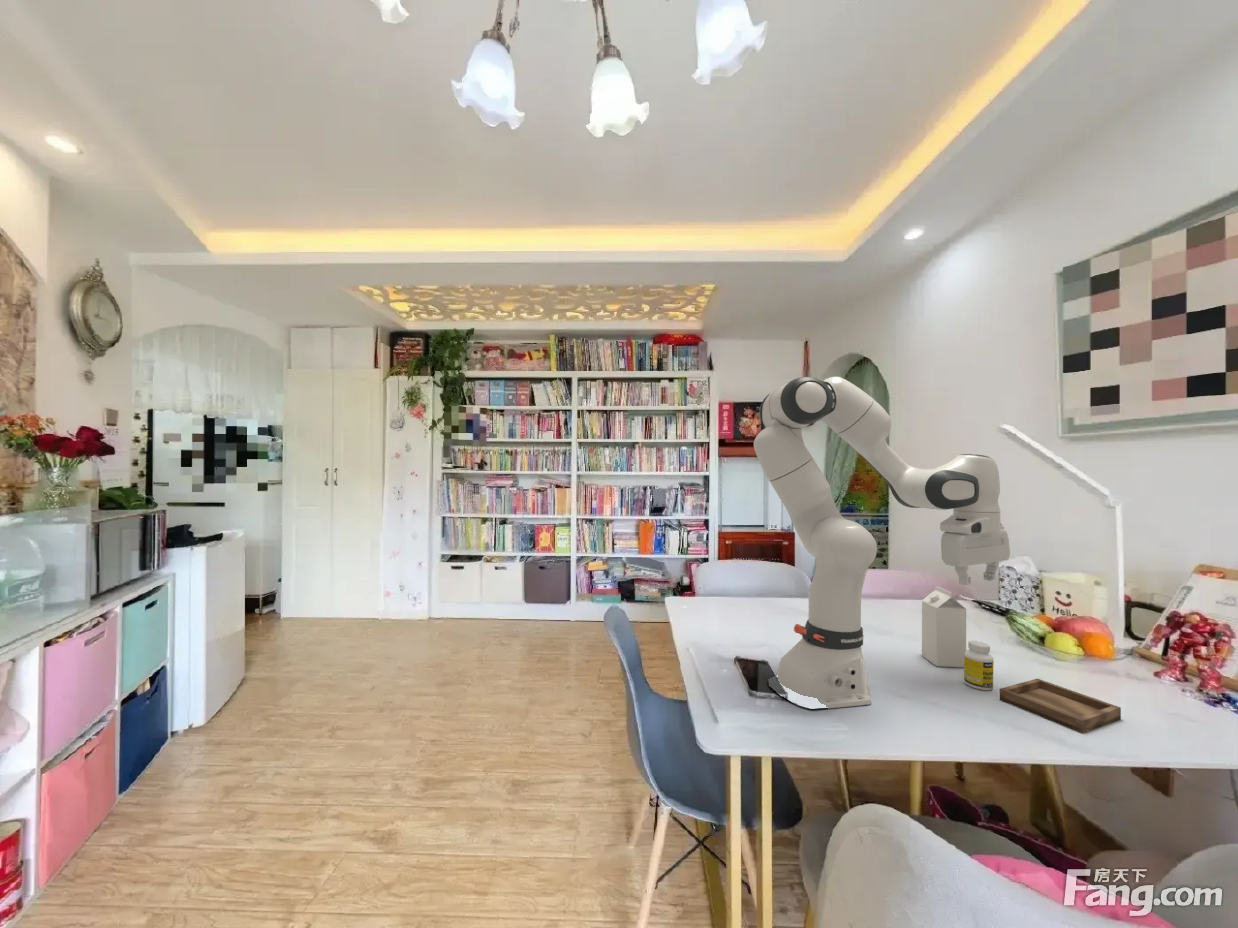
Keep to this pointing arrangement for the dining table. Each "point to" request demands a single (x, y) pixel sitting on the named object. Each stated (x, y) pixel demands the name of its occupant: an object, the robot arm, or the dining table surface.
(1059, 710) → the tray
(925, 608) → the milk carton
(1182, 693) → the dining table surface
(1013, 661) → the dining table surface
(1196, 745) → the dining table surface
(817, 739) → the dining table surface
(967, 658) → the supplement bottle
